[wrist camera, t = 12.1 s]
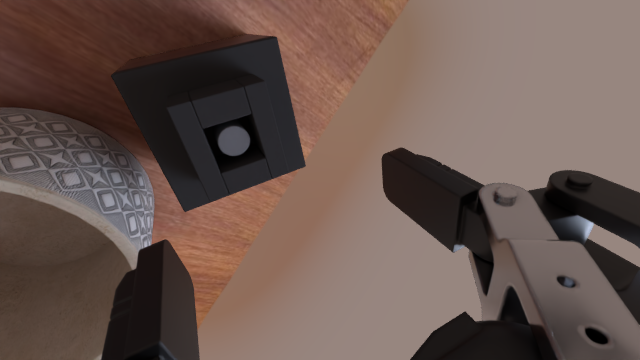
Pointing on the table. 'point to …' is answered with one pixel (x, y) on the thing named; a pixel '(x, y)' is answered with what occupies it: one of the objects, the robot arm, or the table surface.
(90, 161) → the planter
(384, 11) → the table surface
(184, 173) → the base pad
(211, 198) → the top pad
